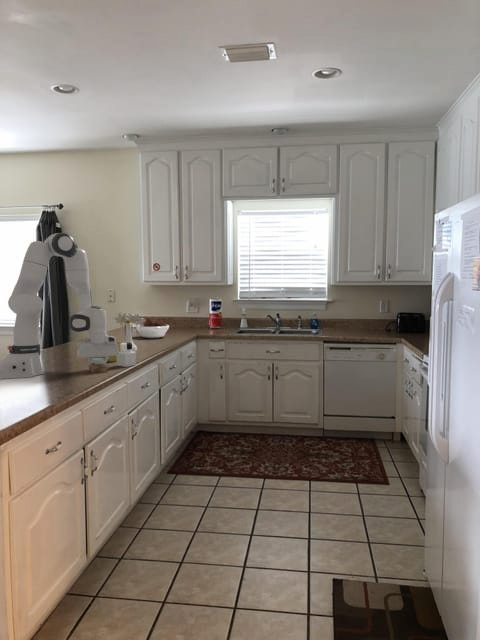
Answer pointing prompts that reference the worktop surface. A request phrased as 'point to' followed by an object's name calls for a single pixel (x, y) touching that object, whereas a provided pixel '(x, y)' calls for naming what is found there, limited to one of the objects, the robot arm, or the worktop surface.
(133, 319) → the flower vase
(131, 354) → the medicine bottle
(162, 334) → the white bowl
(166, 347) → the worktop surface
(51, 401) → the worktop surface
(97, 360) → the cube
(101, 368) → the block
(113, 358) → the plant pot
